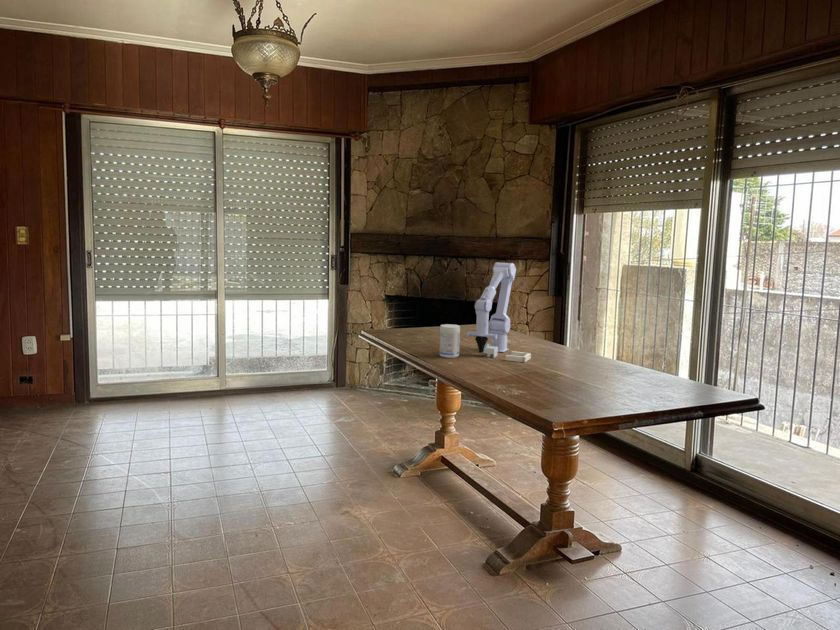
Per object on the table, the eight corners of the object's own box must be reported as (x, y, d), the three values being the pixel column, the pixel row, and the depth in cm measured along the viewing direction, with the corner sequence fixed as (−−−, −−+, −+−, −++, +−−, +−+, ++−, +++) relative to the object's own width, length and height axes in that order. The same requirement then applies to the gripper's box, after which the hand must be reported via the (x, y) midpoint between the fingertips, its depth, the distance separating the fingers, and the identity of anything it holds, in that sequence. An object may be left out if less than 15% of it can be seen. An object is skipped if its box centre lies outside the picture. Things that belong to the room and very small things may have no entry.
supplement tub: (450, 353, 308) (451, 323, 306) (463, 356, 300) (464, 326, 298) (434, 355, 302) (435, 324, 300) (448, 359, 294) (449, 327, 292)
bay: (511, 356, 306) (512, 351, 306) (530, 358, 302) (531, 353, 302) (505, 360, 296) (505, 355, 295) (524, 362, 292) (525, 357, 292)
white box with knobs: (487, 354, 309) (488, 343, 308) (497, 355, 307) (498, 344, 306) (483, 357, 302) (483, 345, 301) (493, 358, 300) (493, 346, 299)
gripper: (465, 324, 303) (464, 351, 305) (494, 326, 298) (493, 355, 300) (470, 322, 310) (468, 349, 312) (498, 324, 304) (497, 352, 306)
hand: (481, 352), depth 306 cm, fingers closed
